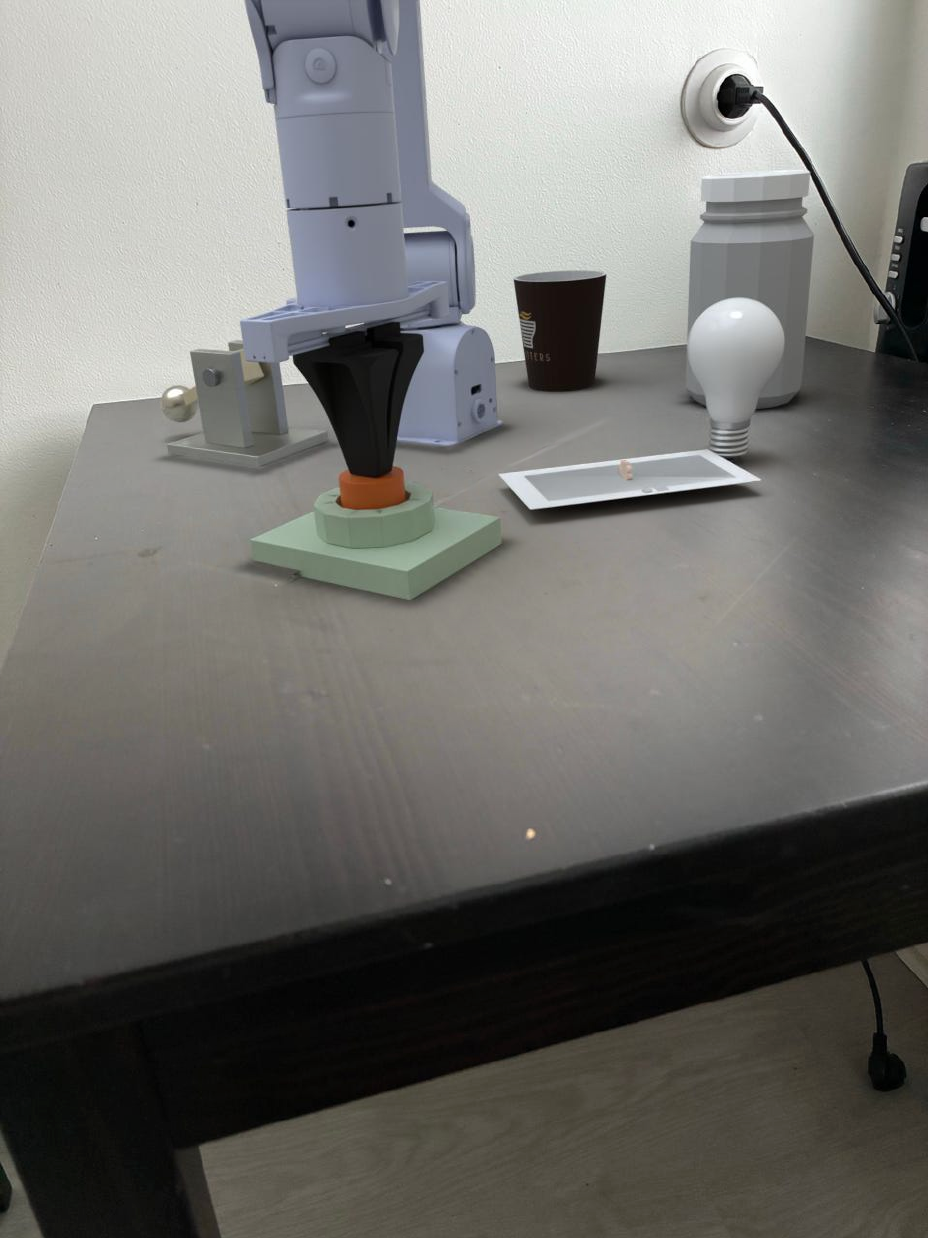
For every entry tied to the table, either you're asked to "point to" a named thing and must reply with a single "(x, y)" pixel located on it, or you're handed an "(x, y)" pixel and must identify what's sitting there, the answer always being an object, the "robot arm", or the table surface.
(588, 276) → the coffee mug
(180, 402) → the lever
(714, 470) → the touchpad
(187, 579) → the table surface
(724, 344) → the lightbulb
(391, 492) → the button
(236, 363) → the bracket
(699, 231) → the jar
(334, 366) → the robot arm
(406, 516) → the button box
